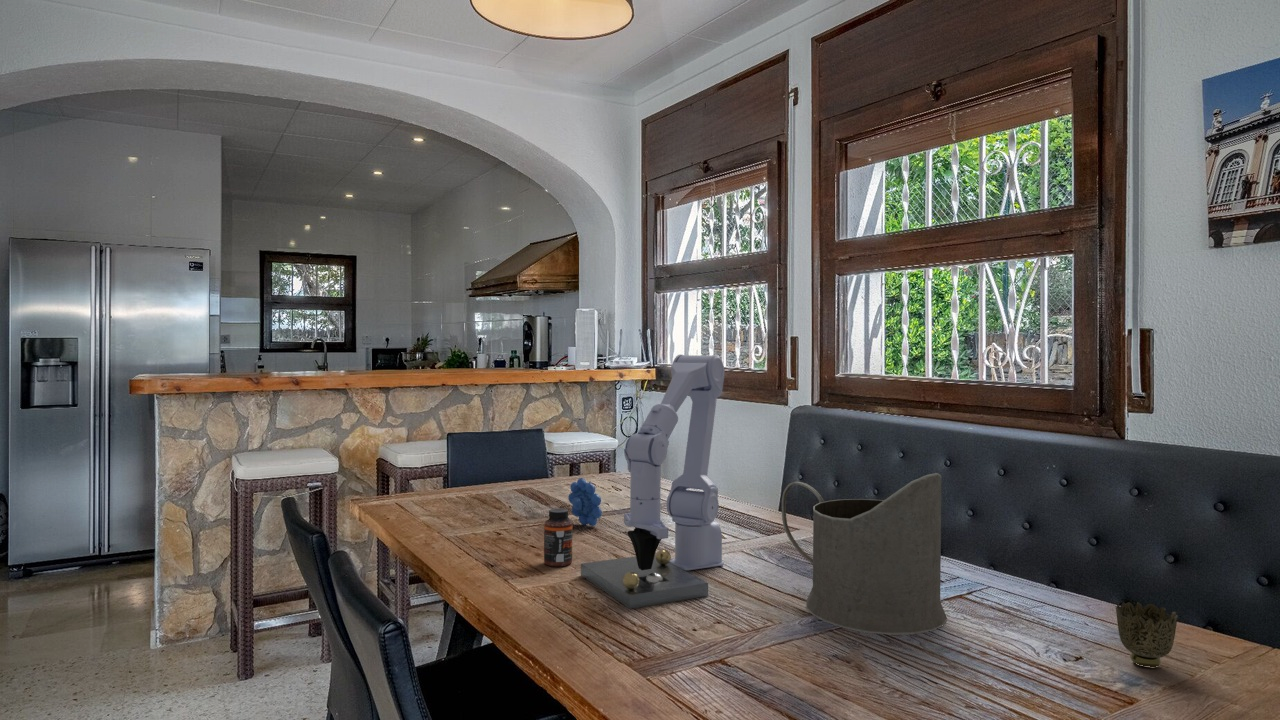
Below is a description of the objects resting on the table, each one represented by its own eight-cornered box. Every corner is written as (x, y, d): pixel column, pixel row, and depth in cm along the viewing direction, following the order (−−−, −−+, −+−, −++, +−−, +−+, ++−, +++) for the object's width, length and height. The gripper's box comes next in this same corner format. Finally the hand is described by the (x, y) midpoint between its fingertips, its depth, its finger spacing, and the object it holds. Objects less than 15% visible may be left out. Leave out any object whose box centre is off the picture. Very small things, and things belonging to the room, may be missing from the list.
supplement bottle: (567, 568, 157) (567, 513, 156) (539, 566, 158) (540, 512, 158) (575, 560, 162) (576, 507, 162) (549, 559, 164) (549, 506, 163)
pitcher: (900, 646, 116) (901, 482, 116) (742, 595, 140) (743, 459, 140) (971, 612, 131) (972, 468, 131) (818, 572, 155) (819, 449, 155)
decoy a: (666, 562, 153) (666, 547, 153) (673, 565, 150) (673, 550, 150) (652, 563, 152) (653, 548, 152) (660, 567, 149) (660, 552, 149)
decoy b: (634, 585, 137) (634, 568, 137) (642, 590, 135) (642, 573, 135) (619, 587, 136) (619, 571, 136) (627, 592, 133) (627, 575, 133)
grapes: (557, 524, 196) (557, 478, 196) (576, 520, 201) (576, 475, 201) (588, 531, 189) (588, 483, 188) (607, 527, 193) (607, 480, 193)
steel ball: (655, 589, 144) (659, 571, 144) (664, 594, 141) (668, 576, 141) (640, 587, 143) (644, 569, 143) (648, 592, 140) (652, 574, 140)
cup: (1103, 655, 113) (1103, 601, 113) (1149, 653, 113) (1150, 600, 113) (1140, 676, 105) (1141, 619, 105) (1190, 675, 106) (1190, 617, 106)
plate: (651, 565, 159) (651, 554, 159) (708, 595, 139) (708, 582, 139) (580, 575, 152) (580, 563, 152) (629, 608, 132) (629, 595, 132)
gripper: (610, 492, 149) (609, 561, 149) (644, 506, 136) (643, 581, 136) (642, 489, 152) (641, 557, 152) (678, 502, 139) (678, 576, 139)
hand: (645, 568), depth 144 cm, fingers closed
